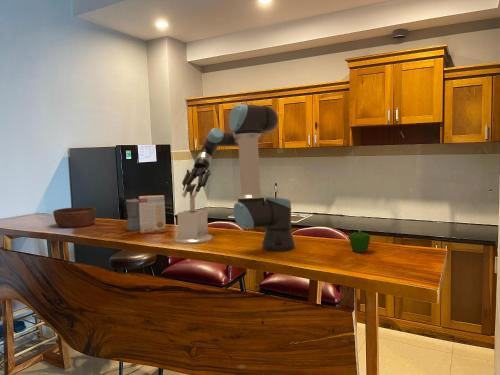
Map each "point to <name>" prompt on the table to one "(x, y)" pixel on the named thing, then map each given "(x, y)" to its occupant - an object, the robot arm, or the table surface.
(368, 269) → the table surface
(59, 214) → the wooden bowl
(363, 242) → the bell pepper
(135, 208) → the moka pot
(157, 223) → the cracker box
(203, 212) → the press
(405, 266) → the table surface
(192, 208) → the plunger
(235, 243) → the table surface
